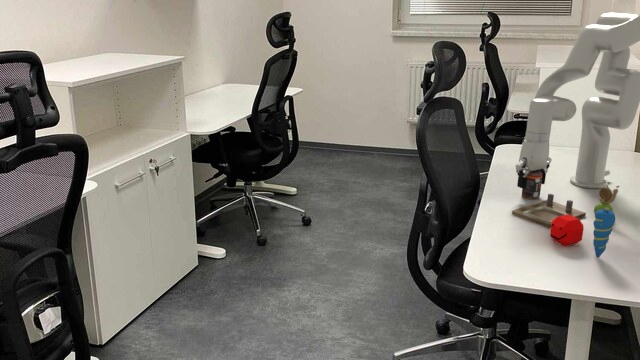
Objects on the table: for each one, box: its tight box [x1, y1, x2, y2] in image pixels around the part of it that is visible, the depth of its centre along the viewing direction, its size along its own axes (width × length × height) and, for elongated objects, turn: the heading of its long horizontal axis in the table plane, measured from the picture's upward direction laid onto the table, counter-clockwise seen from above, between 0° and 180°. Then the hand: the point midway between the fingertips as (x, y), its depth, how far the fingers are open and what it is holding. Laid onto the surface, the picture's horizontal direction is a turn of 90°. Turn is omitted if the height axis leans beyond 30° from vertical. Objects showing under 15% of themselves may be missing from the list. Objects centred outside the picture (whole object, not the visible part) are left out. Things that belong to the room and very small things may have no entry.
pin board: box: [511, 193, 587, 229], centre depth 194 cm, size 18×14×5 cm
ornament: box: [592, 207, 616, 259], centre depth 163 cm, size 5×5×15 cm
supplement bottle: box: [521, 169, 543, 200], centre depth 209 cm, size 6×6×11 cm
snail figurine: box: [593, 185, 620, 215], centre depth 190 cm, size 5×6×12 cm
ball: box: [549, 214, 585, 247], centre depth 173 cm, size 8×8×8 cm
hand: (530, 185), depth 209 cm, fingers open, 9 cm apart
